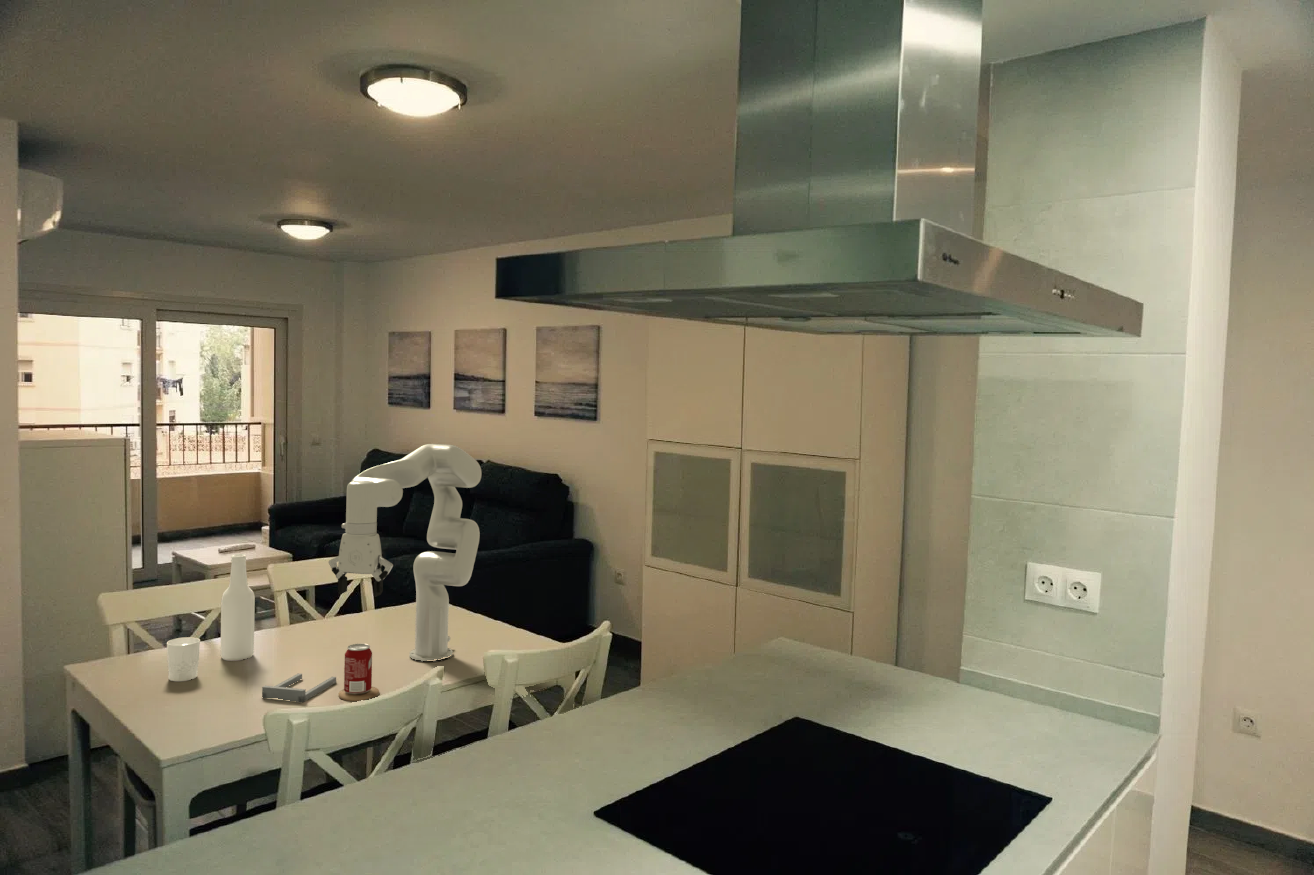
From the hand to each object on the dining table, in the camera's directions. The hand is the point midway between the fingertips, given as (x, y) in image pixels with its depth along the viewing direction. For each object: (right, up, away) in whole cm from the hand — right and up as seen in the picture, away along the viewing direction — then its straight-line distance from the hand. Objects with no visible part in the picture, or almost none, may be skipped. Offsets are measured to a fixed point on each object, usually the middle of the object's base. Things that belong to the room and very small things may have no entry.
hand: (360, 594), depth 223 cm
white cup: (-51, -24, +9) cm, 57 cm away
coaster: (-1, -26, +1) cm, 26 cm away
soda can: (-1, -26, +1) cm, 26 cm away
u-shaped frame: (-17, -26, +2) cm, 31 cm away
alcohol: (-46, -24, +28) cm, 59 cm away
